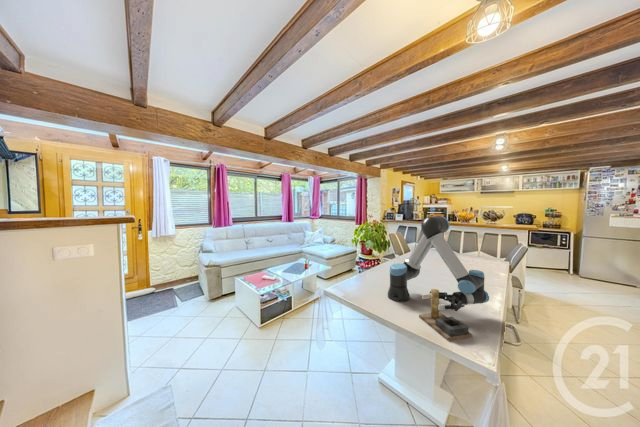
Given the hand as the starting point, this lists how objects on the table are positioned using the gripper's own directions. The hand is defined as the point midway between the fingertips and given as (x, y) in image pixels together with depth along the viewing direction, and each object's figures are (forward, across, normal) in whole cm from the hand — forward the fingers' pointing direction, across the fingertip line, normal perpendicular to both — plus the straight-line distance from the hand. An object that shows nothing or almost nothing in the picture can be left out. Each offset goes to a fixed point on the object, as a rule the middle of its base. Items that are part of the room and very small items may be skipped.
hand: (430, 301), depth 120 cm
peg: (-3, 0, -10) cm, 10 cm away
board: (-3, -6, -11) cm, 13 cm away
